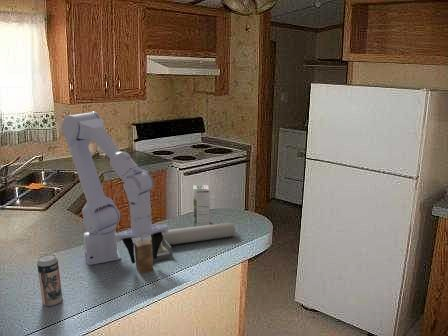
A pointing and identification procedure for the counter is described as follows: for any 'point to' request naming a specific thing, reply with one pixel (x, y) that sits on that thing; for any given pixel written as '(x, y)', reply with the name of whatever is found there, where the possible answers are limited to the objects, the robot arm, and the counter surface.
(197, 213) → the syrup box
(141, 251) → the walnut peg
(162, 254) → the grey open tray
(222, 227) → the tube
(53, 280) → the beer can
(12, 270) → the counter surface
